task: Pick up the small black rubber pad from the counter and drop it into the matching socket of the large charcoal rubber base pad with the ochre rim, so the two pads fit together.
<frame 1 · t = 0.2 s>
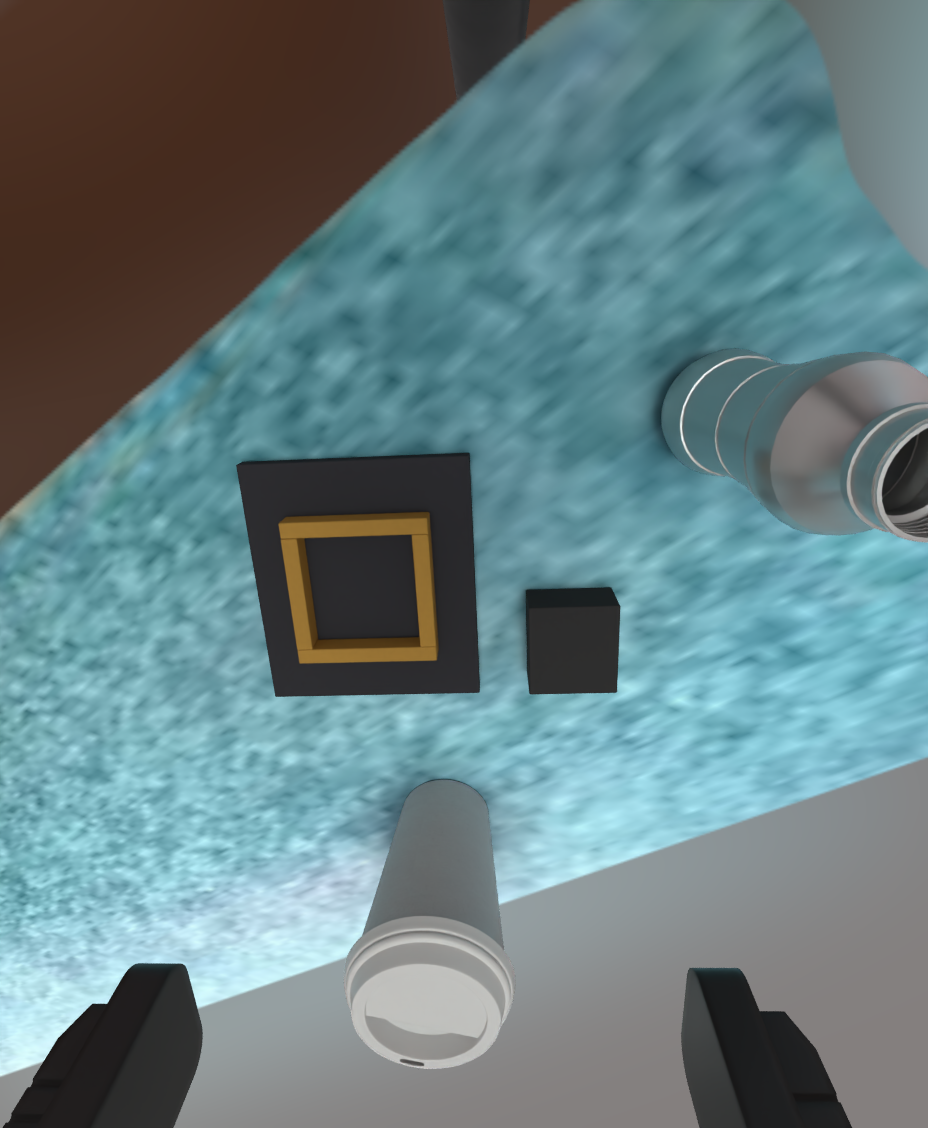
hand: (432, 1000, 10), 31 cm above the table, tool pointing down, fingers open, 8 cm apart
plastic bottle: (707, 408, 37), on the table
coffee cup: (445, 812, 47), on the table
base pad: (367, 579, 41), on the table
black pad: (568, 630, 42), on the table
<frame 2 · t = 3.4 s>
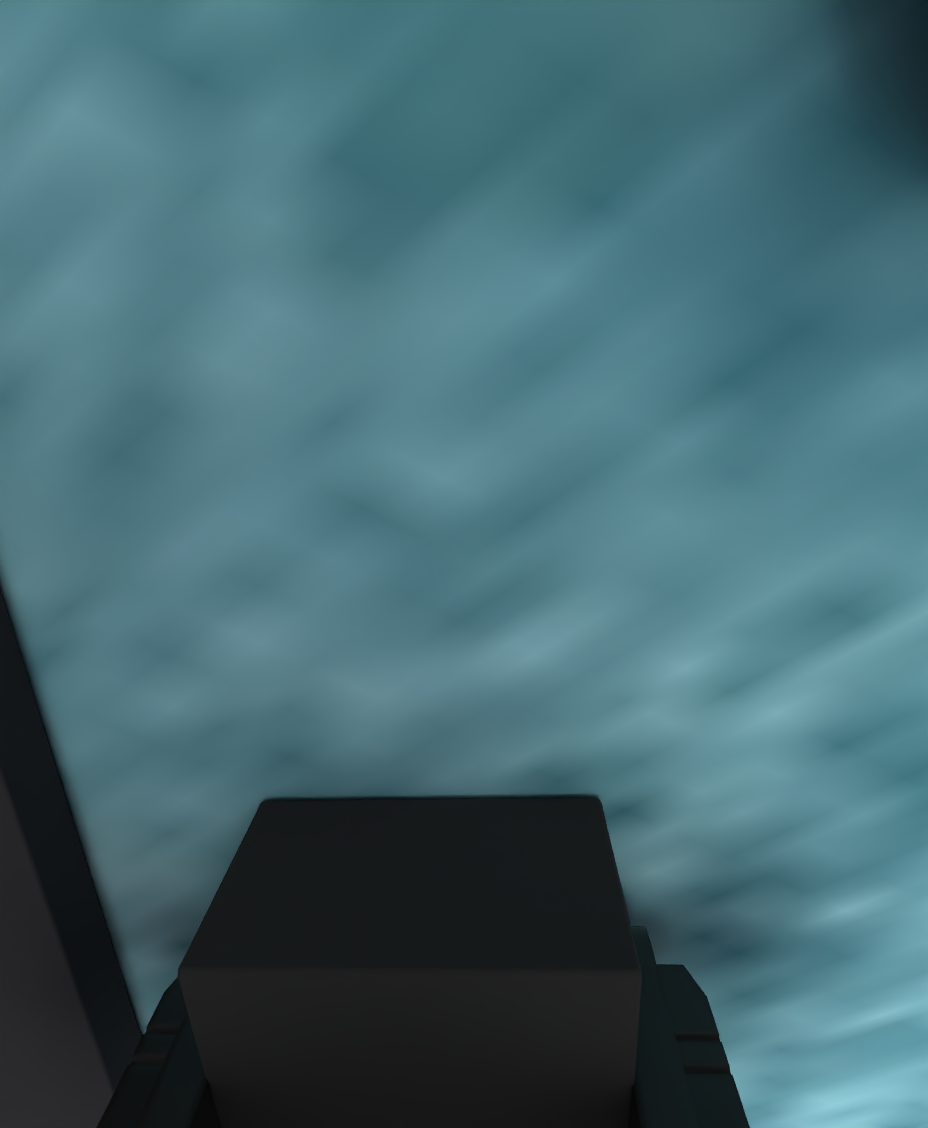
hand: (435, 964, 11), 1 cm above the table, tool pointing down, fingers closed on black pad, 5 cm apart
black pad: (439, 935, 11), on the table, touching gripper
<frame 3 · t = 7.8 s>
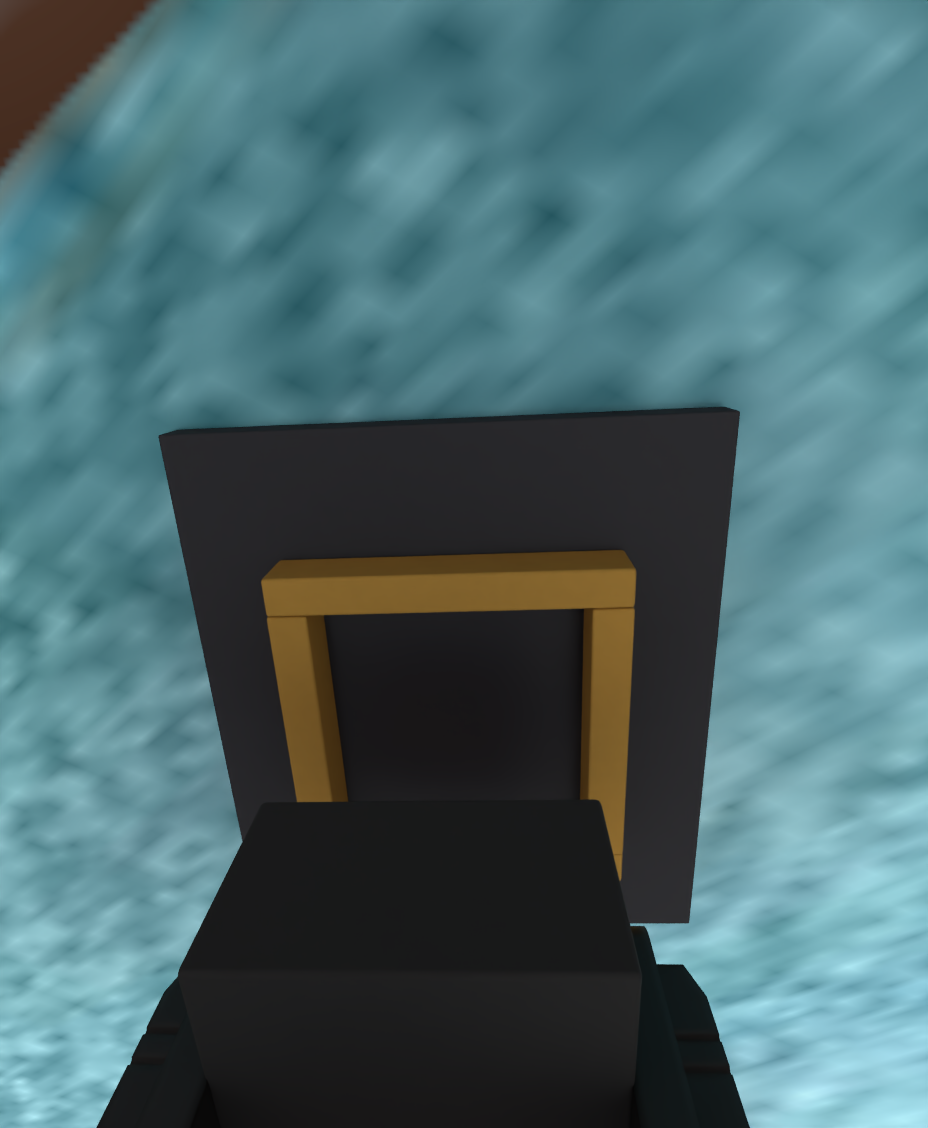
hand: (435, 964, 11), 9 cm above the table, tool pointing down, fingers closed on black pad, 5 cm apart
base pad: (459, 692, 19), on the table
black pad: (439, 937, 11), point 8 cm above the table, touching gripper
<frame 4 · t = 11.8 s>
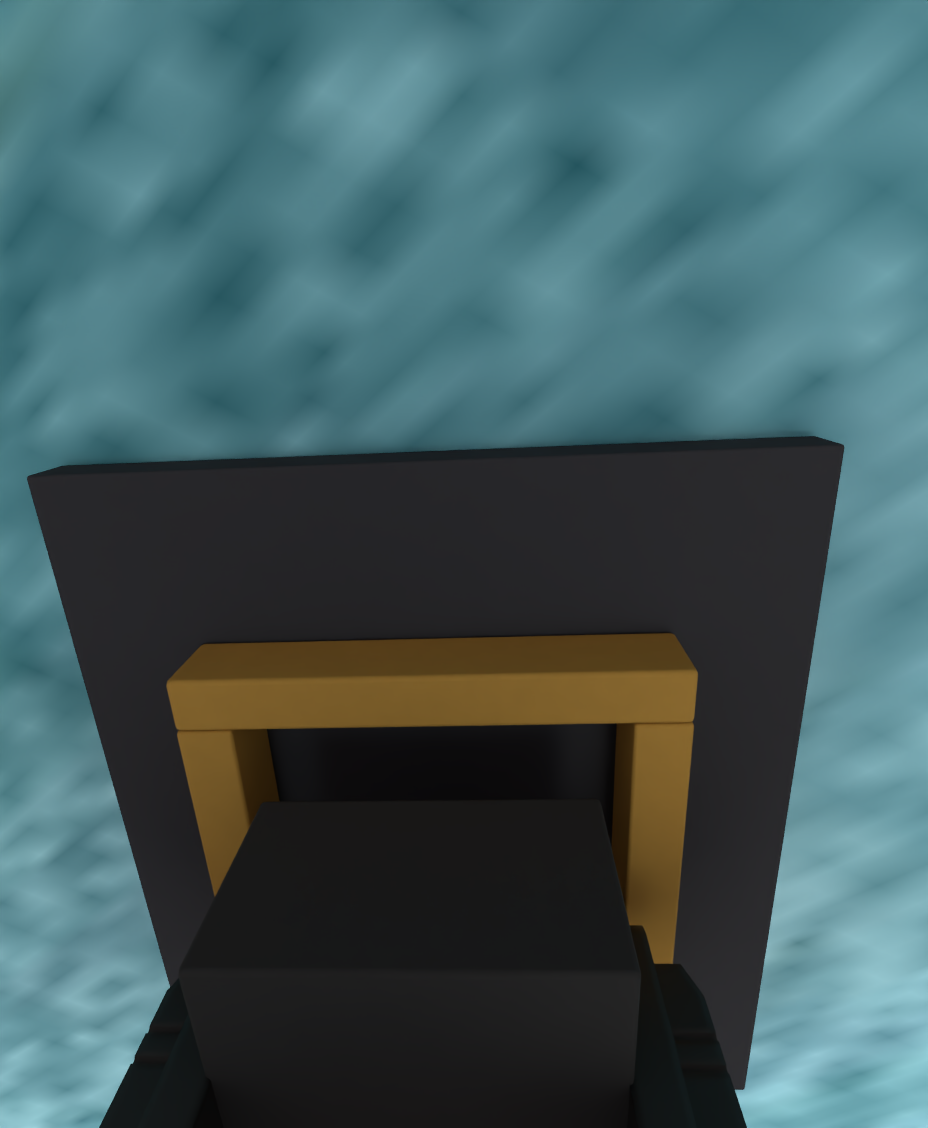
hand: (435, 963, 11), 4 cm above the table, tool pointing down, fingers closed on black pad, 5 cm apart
base pad: (449, 803, 14), on the table
black pad: (439, 936, 11), point 3 cm above the table, touching gripper
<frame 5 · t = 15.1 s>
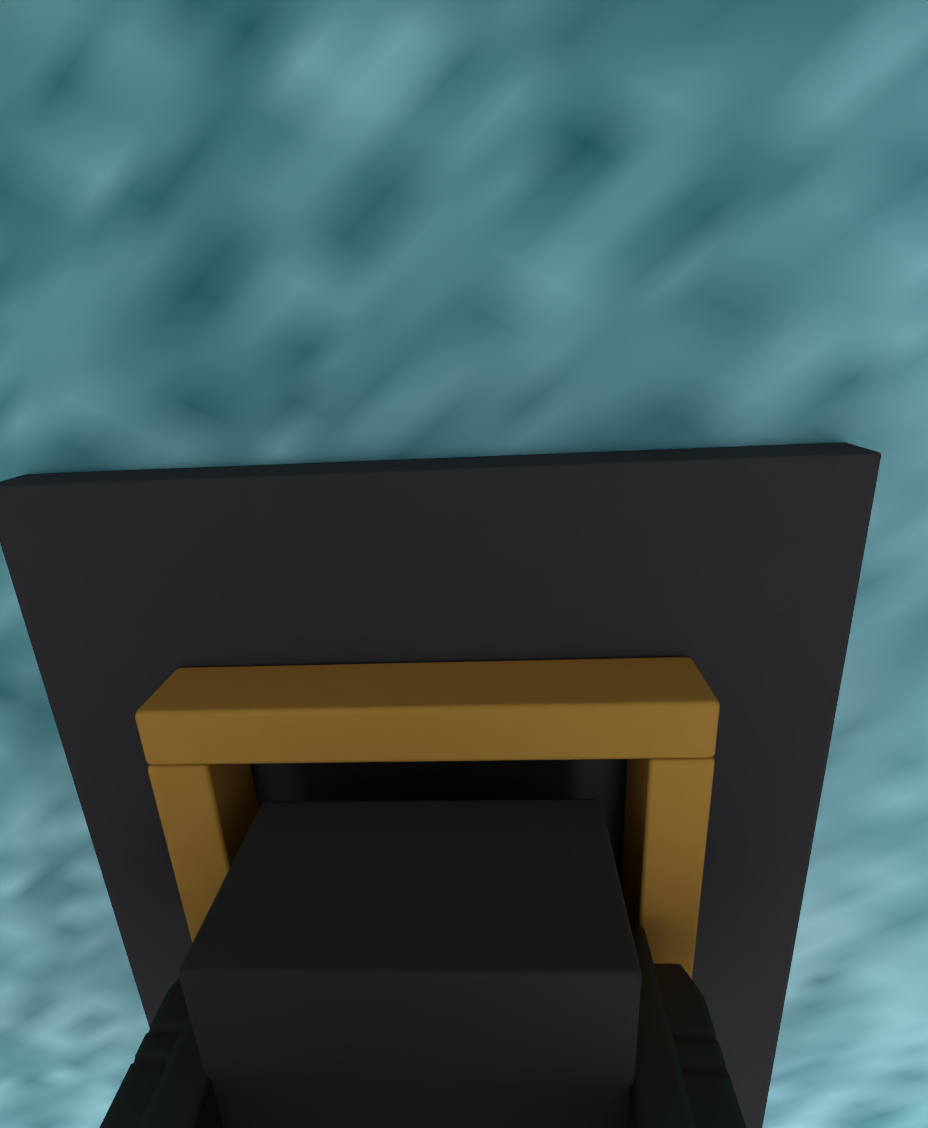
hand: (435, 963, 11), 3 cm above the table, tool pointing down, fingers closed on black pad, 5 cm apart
base pad: (447, 834, 13), on the table
black pad: (439, 936, 11), point 2 cm above the table, touching gripper
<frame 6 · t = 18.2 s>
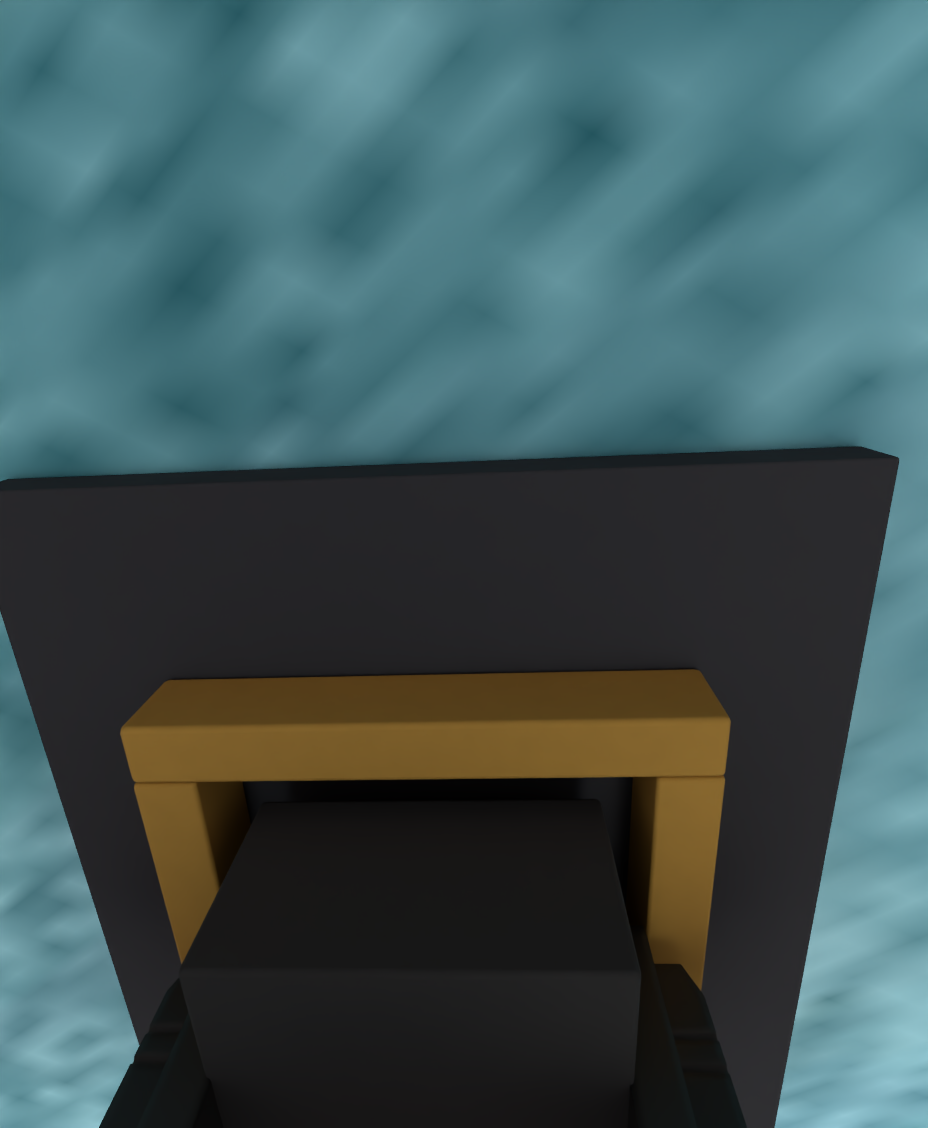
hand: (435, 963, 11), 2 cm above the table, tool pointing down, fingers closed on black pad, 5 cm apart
base pad: (446, 849, 13), on the table
black pad: (439, 936, 11), point 2 cm above the table, touching gripper
when the fingers open (4 cm above the table, at t = 20.4 s): black pad drops 2 cm, resting on base pad.
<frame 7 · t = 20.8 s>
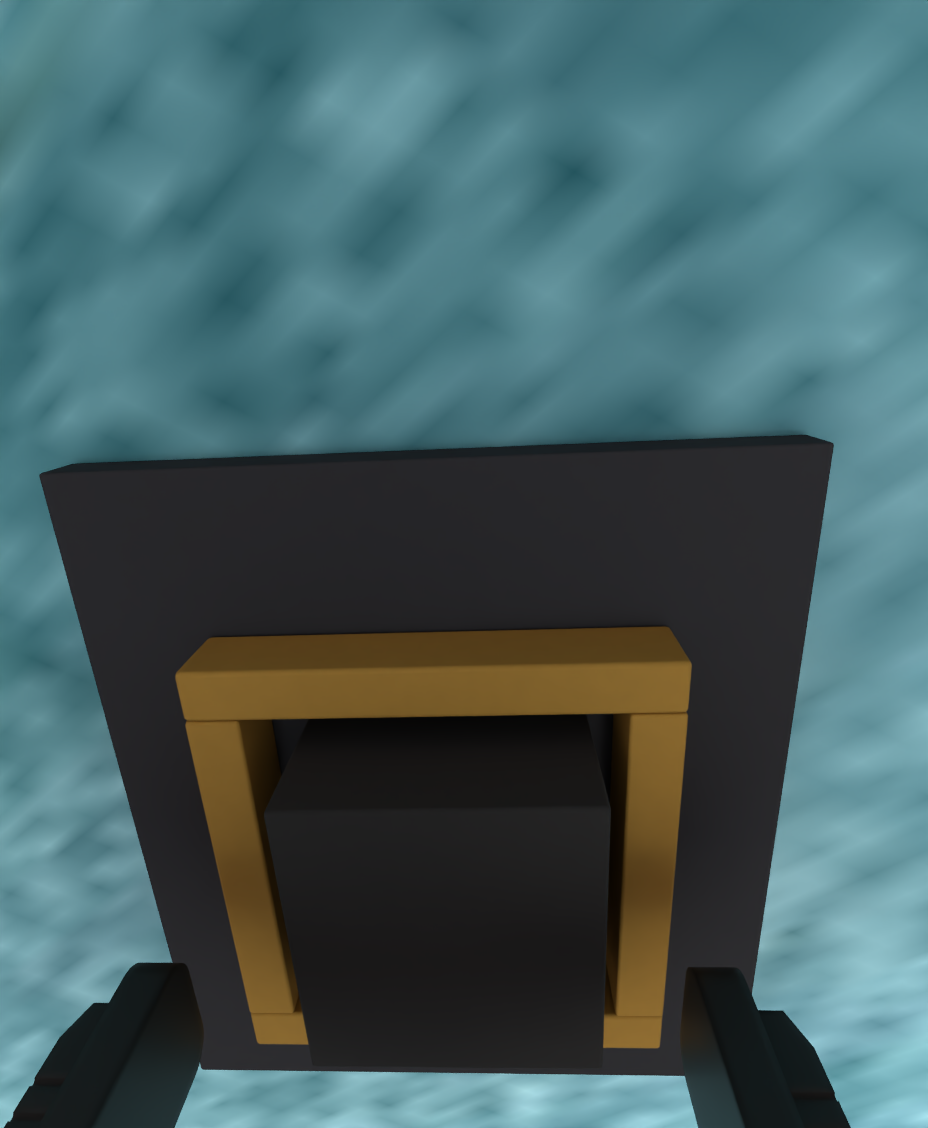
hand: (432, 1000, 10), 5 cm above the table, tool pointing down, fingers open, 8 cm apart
base pad: (450, 795, 15), on the table
black pad: (454, 825, 14), point 1 cm above the table, touching base pad
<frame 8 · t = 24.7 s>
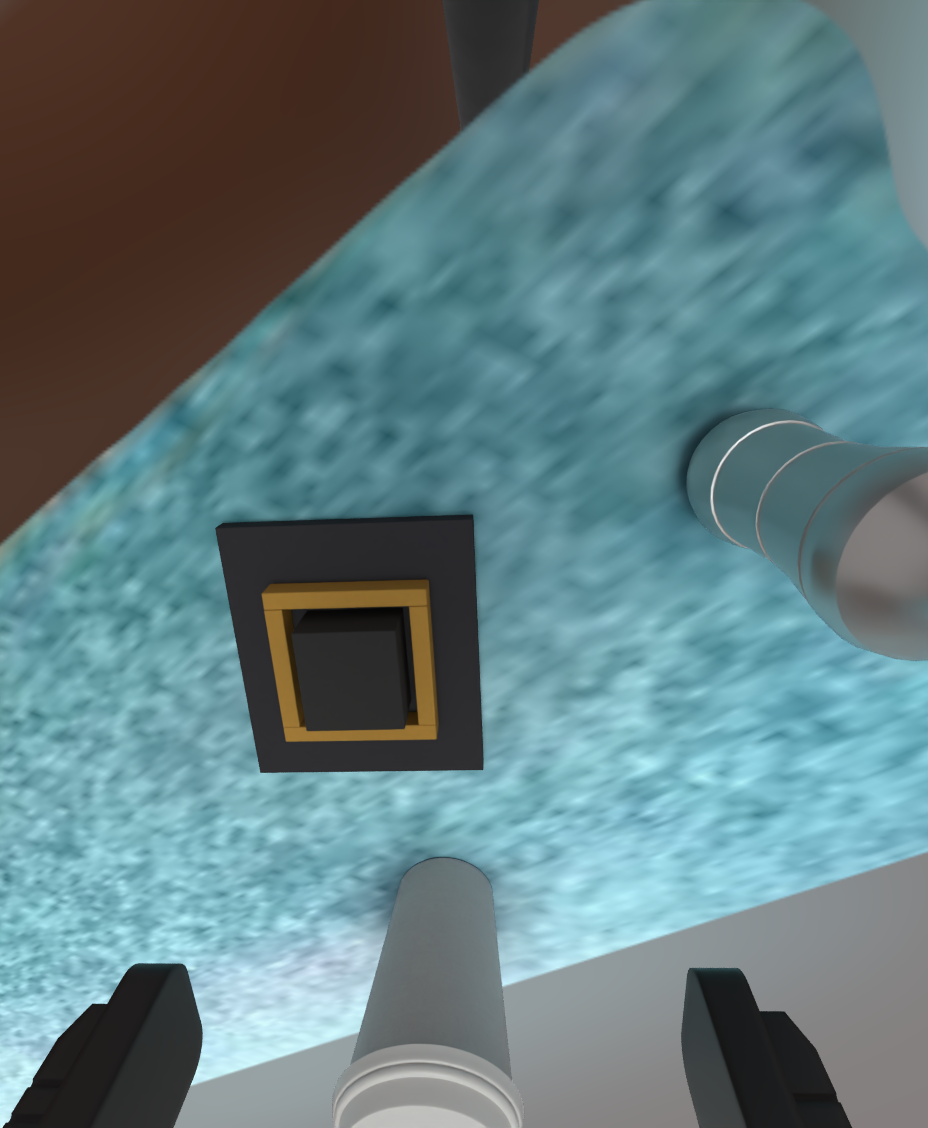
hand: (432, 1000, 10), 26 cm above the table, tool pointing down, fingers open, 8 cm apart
plastic bottle: (737, 467, 33), on the table
coffee cup: (445, 891, 44), on the table
base pad: (360, 648, 37), on the table
black pad: (360, 656, 36), point 1 cm above the table, touching base pad
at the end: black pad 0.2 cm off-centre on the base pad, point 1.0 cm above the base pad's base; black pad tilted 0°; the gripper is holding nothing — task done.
